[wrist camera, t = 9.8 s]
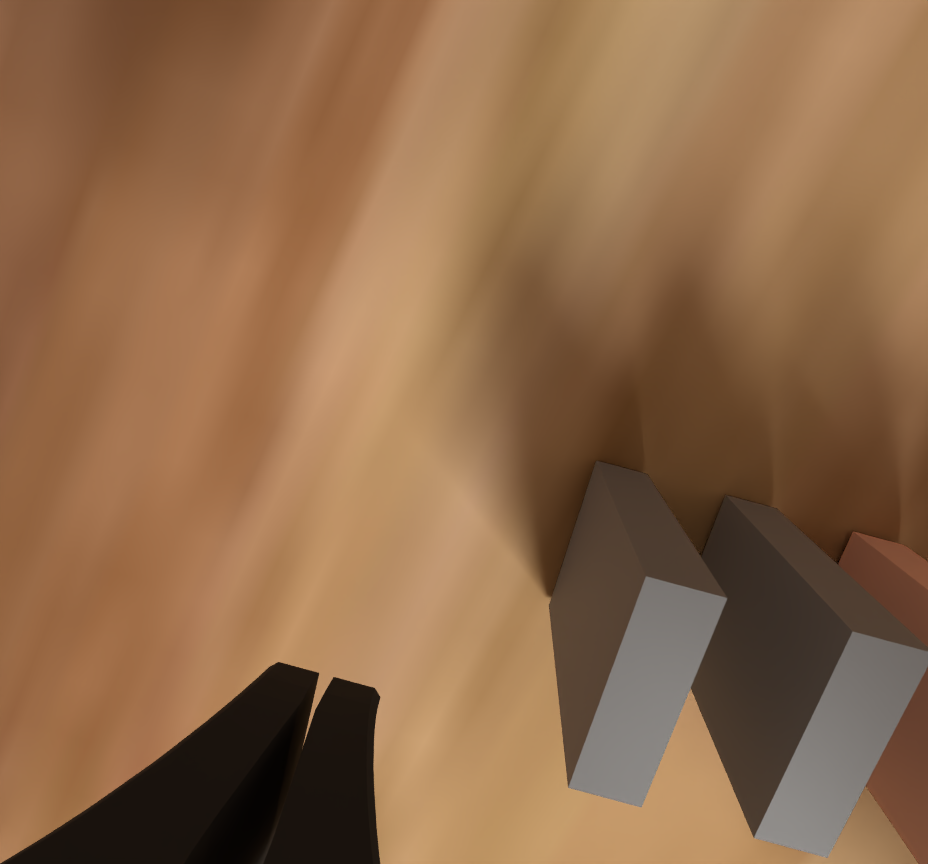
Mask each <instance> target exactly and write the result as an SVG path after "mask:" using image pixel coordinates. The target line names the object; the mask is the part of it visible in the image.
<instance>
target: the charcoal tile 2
mask: <svg viewBox="0 0 928 864" xmlns="http://www.w3.org/2000/svg"><path fill="white" fill-rule="evenodd" d="M701 558H702V559H703V561H704V563H705V564H706V566H707V567H708V569H709V570H710V572H711V573H712V575H713V576H714V578H715V580H716V581H717V583H718V584H719V586H720V587H721V589H722V590H723V592H724V593H725V595H726V597H727V601H726V603H725V605H724V608H723V610H722V613H721V615H720V618H719V620H718V622H717V625H716V627H715V630H714V632H713V635H712V637H711V640H710V642H709V644H708V647H707V649H706V652H705V654H704V657H703V659H702V661H701V664H700V666H699V669H698V671H697V674H696V676H695V678H694V681H693V683H692V686H691V690H692V692H693V694H694V697H695V699H696V702H697V704H698V706H699V709H700V711H701V714H702V716H703V718H704V721H705V723H706V725H707V728H708V730H709V733H710V735H711V737H712V740H713V742H714V744H715V747H716V749H717V752H718V754H719V756H720V759H721V761H722V763H723V766H724V768H725V771H726V773H727V775H728V778H729V780H730V782H731V785H732V787H733V790H734V792H735V794H736V797H737V799H738V801H739V804H740V806H741V809H742V811H743V813H744V816H745V818H746V820H747V823H748V825H749V828H750V830H751V832H752V835H753V837H754V838H756V839H760V840H763V841H767V842H771V843H774V844H778V845H782V846H785V847H789V848H793V849H797V850H800V851H804V852H808V853H811V854H815V855H819V856H822V857H826V858H828V856H829V854H830V852H831V850H832V848H833V847H834V845H835V843H836V841H837V839H838V837H839V835H840V833H841V831H842V829H843V828H844V826H845V824H846V822H847V820H848V818H849V816H850V814H851V812H852V810H853V808H854V807H855V805H856V803H857V801H858V799H859V797H860V795H861V793H862V791H863V789H864V787H865V786H866V784H867V782H868V780H869V778H870V776H871V774H872V772H873V770H874V768H875V766H876V765H877V763H878V761H879V759H880V757H881V755H882V753H883V751H884V749H885V747H886V745H887V744H888V742H889V740H890V738H891V736H892V734H893V732H894V730H895V728H896V726H897V724H898V723H899V721H900V719H901V717H902V715H903V713H904V711H905V709H906V707H907V705H908V703H909V702H910V700H911V698H912V696H913V694H914V692H915V690H916V688H917V686H918V684H919V682H920V681H921V679H922V677H923V675H924V673H925V671H926V669H927V667H928V647H927V646H926V645H925V644H924V643H923V642H922V641H921V640H920V639H918V638H917V637H916V636H915V635H914V634H913V633H912V632H911V631H910V630H909V629H908V628H906V627H905V626H904V625H903V624H902V623H901V622H900V621H899V620H898V619H897V618H896V617H894V616H893V615H892V614H891V613H890V612H889V611H888V610H887V609H886V608H885V607H884V606H882V605H881V604H880V603H879V602H878V601H877V600H876V599H875V598H874V597H873V596H872V595H870V594H869V593H868V592H867V591H866V590H865V589H864V588H863V587H862V586H861V585H860V584H858V583H857V582H856V581H855V580H854V579H853V578H852V577H851V576H850V575H849V574H848V573H846V572H845V571H844V570H843V569H842V568H841V567H840V566H839V565H838V564H837V563H836V562H834V561H833V560H832V559H831V558H830V557H829V556H828V555H827V554H826V553H825V552H824V551H822V550H821V549H820V548H819V547H818V546H817V545H816V544H815V543H814V542H813V541H812V540H810V539H809V538H808V537H807V536H806V535H805V534H804V533H803V532H802V531H801V530H800V529H798V528H797V527H796V526H795V525H794V524H793V523H792V522H791V521H790V520H789V519H788V518H786V517H785V516H784V515H783V514H782V513H781V512H780V511H779V510H778V509H777V508H773V507H769V506H765V505H762V504H758V503H754V502H750V501H747V500H743V499H739V498H735V497H731V496H728V495H725V497H724V500H723V503H722V505H721V508H720V510H719V513H718V515H717V518H716V521H715V523H714V526H713V528H712V531H711V533H710V536H709V538H708V541H707V544H706V546H705V549H704V551H703V554H702V556H701Z"/></svg>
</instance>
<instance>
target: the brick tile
mask: <svg viewBox="0 0 928 864" xmlns="http://www.w3.org/2000/svg"><path fill="white" fill-rule="evenodd" d="M838 565H839V566H840V567H841V568H842V569H843V570H844V571H845V572H846V573H848V574H849V575H850V576H851V577H852V578H853V579H854V580H855V581H856V582H857V583H858V584H860V585H861V586H862V587H863V588H864V589H865V590H866V591H867V592H868V593H869V594H870V595H872V596H873V597H874V598H875V599H876V600H877V601H878V602H879V603H880V604H881V605H882V606H884V607H885V608H886V609H887V610H888V611H889V612H890V613H891V614H892V615H893V616H894V617H896V618H897V619H898V620H899V621H900V622H901V623H902V624H903V625H904V626H905V627H906V628H908V629H909V630H910V631H911V632H912V633H913V634H914V635H915V636H916V637H917V638H918V639H920V640H921V641H922V642H923V643H924V644H925V645H926V646H927V647H928V562H927V561H926V560H925V559H923V558H922V557H920V556H919V555H918V554H916V553H915V552H913V551H912V550H911V549H909V548H908V547H906V546H905V545H902V544H898V543H895V542H891V541H887V540H883V539H880V538H876V537H872V536H868V535H865V534H861V533H857V532H853V533H852V535H851V537H850V539H849V541H848V544H847V546H846V548H845V550H844V552H843V555H842V557H841V559H840V561H839V563H838ZM866 787H867V788H868V790H869V791H870V793H871V794H872V795H873V797H874V798H875V800H876V801H877V803H878V804H879V806H880V807H881V809H882V810H883V812H884V813H885V815H886V816H887V818H888V819H889V821H890V822H891V823H892V825H893V826H894V828H895V829H896V831H897V832H898V834H899V835H900V837H901V838H902V840H903V841H904V843H905V844H906V846H907V847H908V849H909V850H910V851H911V853H912V854H913V856H914V857H915V859H916V860H917V862H918V863H919V864H928V667H927V669H926V671H925V673H924V675H923V677H922V679H921V681H920V682H919V684H918V686H917V688H916V690H915V692H914V694H913V696H912V698H911V700H910V702H909V703H908V705H907V707H906V709H905V711H904V713H903V715H902V717H901V719H900V721H899V723H898V724H897V726H896V728H895V730H894V732H893V734H892V736H891V738H890V740H889V742H888V744H887V745H886V747H885V749H884V751H883V753H882V755H881V757H880V759H879V761H878V763H877V765H876V766H875V768H874V770H873V772H872V774H871V776H870V778H869V780H868V782H867V784H866Z"/></svg>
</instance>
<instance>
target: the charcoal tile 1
mask: <svg viewBox="0 0 928 864" xmlns="http://www.w3.org/2000/svg"><path fill="white" fill-rule="evenodd" d="M726 601H727V597H726V595H725V593H724V592H723V590H722V589H721V587H720V586H719V584H718V583H717V581H716V580H715V578H714V576H713V575H712V573H711V572H710V570H709V569H708V567H707V566H706V564H705V563H704V561H703V559H702V558H701V556H700V555H699V553H698V552H697V550H696V549H695V547H694V546H693V544H692V542H691V541H690V539H689V538H688V536H687V535H686V533H685V532H684V530H683V529H682V527H681V525H680V524H679V522H678V521H677V519H676V518H675V516H674V515H673V513H672V512H671V510H670V508H669V507H668V505H667V504H666V502H665V501H664V499H663V498H662V496H661V495H660V493H659V491H658V490H657V488H656V487H655V485H654V484H653V482H652V481H651V479H650V478H649V476H648V475H647V474H645V473H641V472H638V471H634V470H630V469H626V468H623V467H619V466H615V465H611V464H607V463H604V462H600V461H596V463H595V466H594V469H593V472H592V475H591V478H590V481H589V484H588V487H587V490H586V493H585V497H584V500H583V503H582V506H581V509H580V512H579V515H578V518H577V521H576V524H575V527H574V530H573V533H572V536H571V539H570V542H569V546H568V549H567V552H566V555H565V558H564V561H563V564H562V567H561V570H560V573H559V576H558V579H557V582H556V585H555V588H554V591H553V595H552V598H551V601H550V604H549V611H550V620H551V630H552V639H553V648H554V658H555V667H556V677H557V686H558V696H559V705H560V715H561V724H562V734H563V743H564V753H565V762H566V771H567V781H568V788H571V789H575V790H579V791H583V792H586V793H590V794H594V795H597V796H601V797H605V798H608V799H612V800H616V801H620V802H623V803H627V804H631V805H634V806H638V807H642V805H643V802H644V800H645V798H646V795H647V793H648V790H649V788H650V785H651V783H652V781H653V778H654V776H655V773H656V771H657V768H658V766H659V764H660V761H661V759H662V756H663V754H664V751H665V749H666V747H667V744H668V742H669V739H670V737H671V734H672V732H673V730H674V727H675V725H676V722H677V720H678V717H679V715H680V712H681V710H682V708H683V705H684V703H685V700H686V698H687V695H688V693H689V691H690V688H691V686H692V683H693V681H694V678H695V676H696V674H697V671H698V669H699V666H700V664H701V661H702V659H703V657H704V654H705V652H706V649H707V647H708V644H709V642H710V640H711V637H712V635H713V632H714V630H715V627H716V625H717V622H718V620H719V618H720V615H721V613H722V610H723V608H724V605H725V603H726Z"/></svg>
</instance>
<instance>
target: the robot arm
mask: <svg viewBox="0 0 928 864" xmlns="http://www.w3.org/2000/svg"><path fill="white" fill-rule="evenodd" d="M318 676H319V673H317V672H313V671H310V670H306V669H302V668H299V667H295V666H291V665H288V664H284V663H280V662H278V663H276V664H274V665H272V666H270V667H269V668H268V669H267V670H266V671H264V672H263V673H262V674H261V675H260V676H259V677H258V678H257V679H256V680H255V681H253V682H252V683H251V684H250V685H249V686H248V687H247V688H246V689H244V690H243V691H242V692H241V693H240V694H239V695H238V696H236V697H235V698H234V699H233V700H232V701H231V702H229V703H228V704H227V705H226V706H225V707H223V708H222V709H221V710H220V711H218V712H217V713H216V714H215V715H214V716H212V717H211V718H210V719H209V720H208V721H206V722H205V723H204V724H203V725H201V726H200V727H199V728H197V729H196V730H195V731H194V732H192V733H191V734H190V735H188V736H187V737H186V738H185V739H183V740H182V741H181V742H179V743H178V744H177V745H176V746H174V747H173V748H172V749H170V750H169V751H168V752H167V753H165V754H164V755H163V756H161V757H160V758H159V759H157V760H156V761H155V762H153V763H152V764H151V765H149V766H148V767H146V768H145V769H144V770H142V771H141V772H139V773H138V774H136V775H135V776H134V777H132V778H131V779H129V780H128V781H127V782H125V783H124V784H122V785H121V786H119V787H118V788H117V789H115V790H114V791H112V792H111V793H109V794H108V795H107V796H105V797H104V798H102V799H101V800H100V801H98V802H97V803H95V804H94V805H92V806H91V807H89V808H88V809H86V810H85V811H83V812H82V813H80V814H79V815H77V816H76V817H74V818H73V819H71V820H70V821H68V822H67V823H65V824H64V825H62V826H61V827H59V828H57V829H56V830H54V831H53V832H51V833H50V834H48V835H46V836H45V837H43V838H42V839H40V840H38V841H37V842H35V843H34V844H32V845H30V846H29V847H27V848H25V849H24V850H22V851H20V852H19V853H17V854H15V855H14V856H12V857H11V858H9V859H7V860H6V861H4V862H2V863H1V864H380V858H379V849H378V838H377V828H376V812H375V796H374V771H373V758H374V731H375V720H376V714H377V708H378V704H379V700H380V696H379V694H378V693H377V691H376V689H375V688H373V687H369V686H365V685H361V684H358V683H354V682H350V681H347V680H343V679H339V678H336V677H333V679H332V681H331V683H330V684H329V686H328V688H327V689H326V691H325V693H324V695H323V697H322V698H321V700H320V702H319V704H318V706H317V708H316V710H315V713H314V716H313V719H312V722H311V725H310V728H309V731H308V734H307V737H306V740H305V743H304V739H305V734H306V730H307V725H308V721H309V716H310V712H311V708H312V703H313V699H314V694H315V690H316V685H317V681H318ZM303 743H304V746H303ZM302 748H303V749H302Z"/></svg>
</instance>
